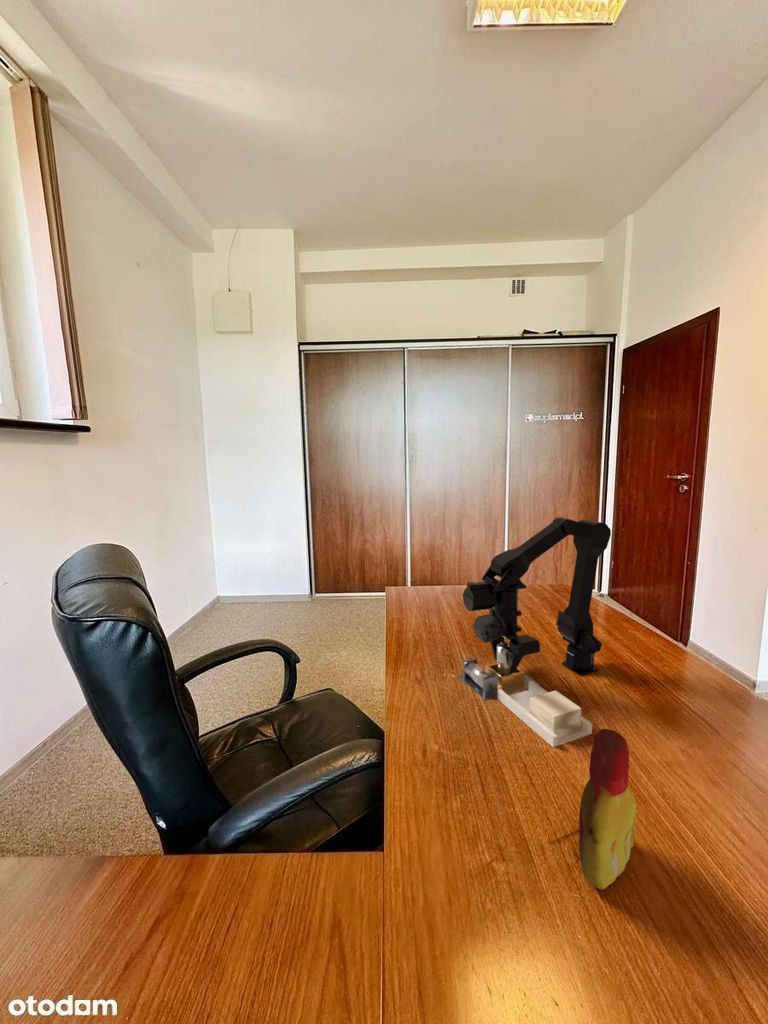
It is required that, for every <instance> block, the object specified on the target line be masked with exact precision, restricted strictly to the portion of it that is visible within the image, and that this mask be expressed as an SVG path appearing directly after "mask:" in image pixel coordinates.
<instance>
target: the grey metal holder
mask: <svg viewBox="0 0 768 1024" xmlns="http://www.w3.org/2000/svg"><path fill="white" fill-rule="evenodd" d="M477 663H478V661H477V658H476V657H473V658H469V659H464V660H462V673H461V674H458V675H457V678H458V679H460V681H462V682H463V683H464V684H465V685H466V686H468V687H470V688H471V689H472V690H473V691H474V692H476V694H477V695H479V696H480V697H481V698H482V699H483V700H484V701H488V700H492V699H496V698H497V697H498V690H502V691H504V692H505V693H506V694H507V695H512V694H515V693H519V692H523V691H526V690H529V682H530V681H533V682H534V683H536V684H537V685H538V686H541V684H540V683H538V682H537V681H536V680H534V679H533V678H531V677H530V676H528V675H527V674H525V671H523V670H522V669H521V668H519V667H517V668H516V670H515V671H513V672H512V674H511V675H507V676H503V677H502V676H501V675H500V674H498V673H497V662H495V663H494V662H493V663H490V664H486V665H485V668H482V667H481V666H479V665H478V664H477Z"/></svg>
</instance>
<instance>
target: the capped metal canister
mask: <svg viewBox="0 0 768 1024" xmlns="http://www.w3.org/2000/svg"><path fill="white" fill-rule="evenodd" d="M505 647H509V641H506V640H504V641H500V643H499V644H497V660H496V663H497V673H498V674H500V675H501V676H502V677H503V676H507V675H511V674H512V671H511V669H510V659H509V652H508V651H507V650H506V649H505Z"/></svg>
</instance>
